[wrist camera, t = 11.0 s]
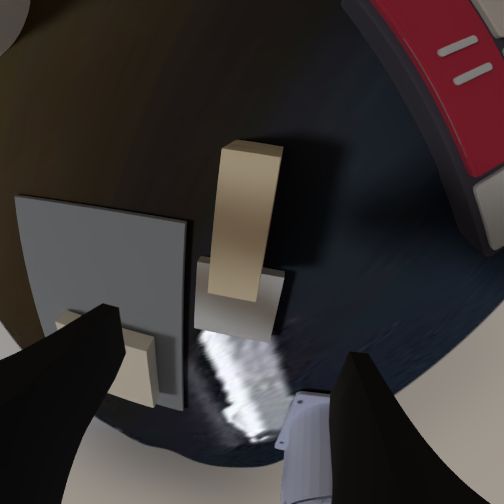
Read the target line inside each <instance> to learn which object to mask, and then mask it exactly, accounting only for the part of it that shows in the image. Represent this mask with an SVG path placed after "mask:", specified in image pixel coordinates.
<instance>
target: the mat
mask: <svg viewBox="0 0 504 504" xmlns="http://www.w3.org/2000/svg"><path fill="white" fill-rule="evenodd" d="M15 204H16V212H17V219H18V226H19V232H20V238H21V244H22V249H23V255H24V259H25V264H26V269H27V273H28V278H29V282H30V286H31V290H32V294H33V297H34V301H35V305H36V308H37V312H38V315H39V318H40V322H41V325H42V328H43V331H44V334H45V337H47V336H49V335H50V334H52V333H54V332H55V331H57V326H56V323H55V321H56V320H57V319H58V318H59V317H60V315H61V314H62V313H63V312H64V311H65V310H68V311H70V312H73V313H76V314H79V315H83V314H85V313H87V312H88V311H90V310H92V309H93V308H95V307H97V306H99V305H101V304H102V303H104V304H108V305H112V306H115V307H119V311H120V318H121V325H122V328H124V329H128V330H131V331H135V332H138V333H142V334H146V335H149V336H153V337H154V339H155V352H156V363H157V374H158V384H159V393H160V395H159V397H158V399H157V402H156V404H158V405H162V406H165V407H169V408H173V409H176V410H180V411H183V409H184V388H183V311H184V275H185V251H186V232H187V221H183V220H177V219H171V218H165V217H159V216H153V215H147V214H141V213H135V212H129V211H122V210H116V209H110V208H103V207H97V206H91V205H84V204H78V203H71V202H64V201H58V200H51V199H44V198H37V197H30V196H23V195H17V196H15Z"/></svg>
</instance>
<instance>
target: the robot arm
mask: <svg viewBox="0 0 504 504" xmlns="http://www.w3.org/2000/svg"><path fill="white" fill-rule="evenodd" d="M125 355H126V349H125V343H124V338H123V331H122V325H121V318H120V311H119V307H115V306H112V305H108V304H104V303H102V304H101V305H99V306H97V307H95V308H93V309H92V310H90V311H88V312H87V313H85V314H83V315H82V316H80V317H79V318H77V319H75V320H74V321H72V322H70V323H69V324H67V325H65V326H64V327H62V328H60V329H59V330H57V331H55V332H54V333H52V334H50V335H49V336H47V337H45V338H43V339H41V340H40V341H38V342H36V343H34V344H32V345H31V346H29V347H27V348H25V349H23V350H21V351H19V352H17V353H15V354H13V355H11V356H9V357H6V358H4V359H2V360H0V504H61V501H62V498H63V494H64V490H65V486H66V483H67V479H68V476H69V473H70V470H71V467H72V464H73V461H74V458H75V455H76V453H77V450H78V448H79V445H80V442H81V440H82V437H83V435H84V433H85V431H86V429H87V427H88V425H89V424H90V422H91V420H92V418H93V417H94V415H95V413H96V411H97V410H98V408H99V406H100V404H101V403H102V401H103V399H104V398H105V396H106V394H107V392H108V391H109V389H110V387H111V385H112V384H113V382H114V380H115V378H116V376H117V374H118V372H119V369H120V367H121V364H122V362H123V360H124V357H125ZM275 448H277V449H281V450H285V452H284V465H283V474H282V485H281V495H280V497H281V504H490V503H489V502H487V501H486V500H485V499H483V498H482V497H481V496H480V495H478V494H477V493H476V492H475V491H473V490H472V489H471V488H470V487H468V486H467V485H466V484H465V483H464V482H463V481H462V480H461V479H460V478H459V477H458V476H457V475H456V474H455V473H454V472H453V471H452V470H451V469H450V468H449V467H448V466H447V465H446V464H445V463H444V462H443V461H442V460H441V459H440V458H439V457H438V455H437V454H436V453H435V452H434V451H433V449H432V448H431V447H430V446H429V445H428V443H427V442H426V441H425V440H424V438H423V437H422V436H421V435H420V433H419V432H418V430H417V429H416V428H415V426H414V425H413V423H412V422H411V421H410V419H409V418H408V416H407V415H406V414H405V412H404V411H403V409H402V407H401V406H400V404H399V403H398V401H397V400H396V398H395V397H394V395H393V393H392V392H391V390H390V389H389V387H388V385H387V384H386V382H385V380H384V379H383V377H382V375H381V374H380V372H379V371H378V369H377V367H376V366H375V364H374V362H373V361H372V359H371V358H370V356H369V354H367V353H358V352H349V354H348V356H347V358H346V361H345V363H344V365H343V367H342V369H341V372H340V374H339V376H338V378H337V380H336V382H335V384H334V386H333V389H332V391H331V393H330V394H323V393H314V392H306V391H300V392H298V393H297V394H296V396H295V398H294V401H293V403H292V405H291V408H290V410H289V413H288V415H287V417H286V420H285V422H284V425H283V427H282V429H281V432H280V434H279V436H278V438H277V441H276V443H275Z"/></svg>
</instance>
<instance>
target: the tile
mask: <svg viewBox="0 0 504 504" xmlns="http://www.w3.org/2000/svg"><path fill="white" fill-rule="evenodd" d="M80 316H82V315H79V314H76V313H73V312H70V311H68V310H65V311H64V312H63V313H62V314H61V315H60V317H59V318H58V319H57V320H56V321H55V323H56V326H57V330H59V329H60V328H62V327H64V326H65V325H67V324H69V323H70V322H72V321H74V320H75V319H77V318H79V317H80ZM122 331H123V338H124V343H125V349H126V355H125V357H124V360H123V362H122V364H121V367H120V369H119V372H118V374H117V376H116V378H115V380H114V382H113V384H112V385H111V387H110V389H109V391H108V392H107V393H110V394H112V395H115V396H118V397H121V398H124V399H127V400H130V401H133V402H136V403H139V404H142V405H145V406H149V407H152V408H154V406H155V404H156V402H157V399H158V397H159V395H160V393H159V384H158V374H157V363H156V352H155V339H154V337H153V336H149V335H146V334H142V333H138V332H135V331H131V330H128V329H124V328H122Z"/></svg>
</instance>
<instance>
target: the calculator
mask: <svg viewBox="0 0 504 504" xmlns="http://www.w3.org/2000/svg"><path fill="white" fill-rule="evenodd" d="M341 6H342V8H343V9H344V11H345V12H346V13H347V15H348V16H349V17H350V18H351V20H352V21H353V22H354V24H355V25H356V27H357V28H358V29H359V31H360V32H361V34H362V35H363V36H364V38H365V39H366V41H367V42H368V44H369V45H370V47H371V48H372V50H373V51H374V53H375V54H376V56H377V57H378V59H379V60H380V62H381V63H382V65H383V67H384V68H385V70H386V71H387V73H388V75H389V76H390V78H391V80H392V81H393V83H394V85H395V86H396V88H397V90H398V92H399V93H400V95H401V97H402V99H403V100H404V102H405V104H406V106H407V107H408V109H409V111H410V113H411V115H412V117H413V119H414V120H415V122H416V124H417V126H418V128H419V130H420V132H421V134H422V136H423V138H424V140H425V142H426V144H427V146H428V149H429V151H430V153H431V155H432V157H433V159H434V162H435V164H436V166H437V168H438V171H439V176H440V179H441V182H442V185H443V187H444V190H445V192H446V195H447V198H448V200H449V203H450V206H451V209H452V212H453V214H454V217H455V220H456V223H457V227H458V229H459V232H460V234H461V235H462V236H463V237H464V238H465V239H466V240H468V241H469V242H470V243H471V244H472V245H473V246H474V247H475V248H476V249H477V250H479V251H480V252H481V253H482V254H483V255H484V256H485V257H491V256H493V255H494V254H496V253H498V252H499V251H501V250H502V249H504V0H342V2H341Z"/></svg>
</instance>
